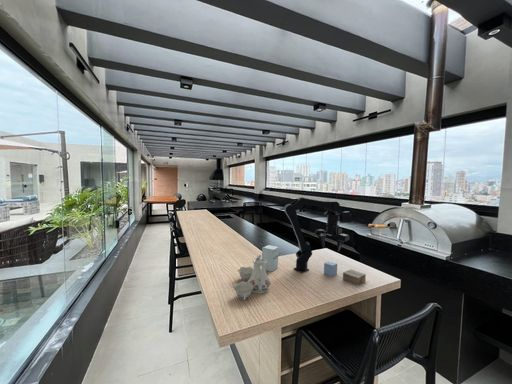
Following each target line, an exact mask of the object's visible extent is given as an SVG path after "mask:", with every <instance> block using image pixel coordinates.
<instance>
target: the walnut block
mask: <svg viewBox="0 0 512 384" xmlns="http://www.w3.org/2000/svg"><path fill="white" fill-rule="evenodd" d="M366 277H367V276H366V273H362V272H360V271H357V270H354V269H351V268H350V269H349V270H345V271H344V272H342V280H344V281H345V282H349V283H350V284H354V285H355V286H356V285H357V286H359V285H361V284H363V283H365V282H366Z"/></svg>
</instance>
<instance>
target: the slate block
mask: <svg viewBox="0 0 512 384" xmlns="http://www.w3.org/2000/svg"><path fill="white" fill-rule="evenodd" d="M323 264H324V266H323V274H325V275H327V276H330V277H334V276H337V274H338V263H335V262H333V261H330V260H329V261H326V262H324V263H323Z"/></svg>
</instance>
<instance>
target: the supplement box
mask: <svg viewBox="0 0 512 384" xmlns="http://www.w3.org/2000/svg"><path fill="white" fill-rule="evenodd" d="M261 256H262V258H263V259H265V260H267V262H266V265H265V269H266V271H267V270H269V271H268V272H271V271H273V272H274V271H276V268H277V269H278V268H279V267H278V266H279V246H275V245H270V244H267V245H266V246H263V247H262V248H261Z"/></svg>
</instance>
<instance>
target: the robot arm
mask: <svg viewBox="0 0 512 384" xmlns="http://www.w3.org/2000/svg"><path fill="white" fill-rule="evenodd" d="M304 205H306V206H311V207H317V208H323V209H325V210H326V211H325V212H324V213H323V215H326V216H327V218H326V223H325V226H326V229H321V228H319V229H316V230H315V232H314V234H315V236H316V237H317V238H318V239H319V241H320V244H321V246H322V248H325V245H326V237H327V236H328V237H333V238H337V239H338V240H336V241H337V242H336V243H337V244H336V250H337V252H340V251H341V249H342V246H343V244H344V242H347V241H350V239H351V238H350V235H349V234H346V233H342V232H343V229H342V227H340V226H339V224H338V223H340V224H352V222H353V216H352V213H351V211H343V210H342V208H341V204H340V203H339V202H338V201H335V200H319V199H311V198H305V197H303V196H300V197H298V198H297V199H295V200H293V201H292V202H291V203H287V204H285V205H284V207H283V211H284V213H285V214H286V216H287V217H288V219H289V222H290V223H291V226H292V229H293V232H294V235H295V236H296V240H297V242H298V251H296V252H295V256H296V259H295V267H293V270H295V271H297V272H300V273H302V274H303V273H306V272H308V271H310V269H309V268H308V262H309V260H310V258H311V257H312V255H313V249H312V246H311V244H310V242H308V241H306V240H305V235H304V234H303V231H302V229H301V226H300V224H299V220H298V214H297V211H298V210H299V209H300V208H301V207H302V206H304Z"/></svg>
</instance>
